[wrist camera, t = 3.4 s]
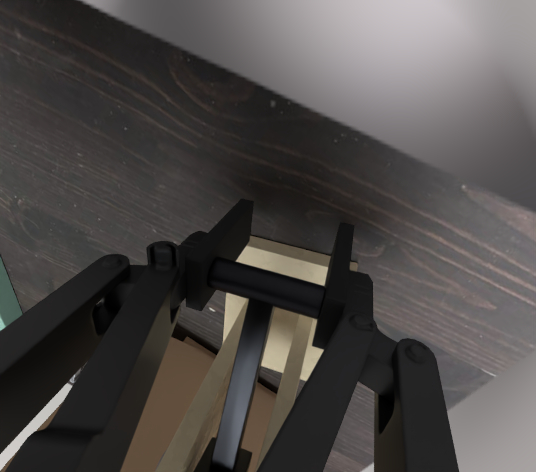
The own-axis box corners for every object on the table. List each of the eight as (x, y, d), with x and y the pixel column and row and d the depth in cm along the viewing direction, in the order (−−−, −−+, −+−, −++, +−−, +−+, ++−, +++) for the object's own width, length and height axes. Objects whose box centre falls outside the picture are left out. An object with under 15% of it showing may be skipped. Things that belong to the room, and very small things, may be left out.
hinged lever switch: (237, 231, 23) (84, 422, 11) (357, 262, 22) (340, 528, 9) (228, 340, 29) (124, 542, 17) (321, 371, 28) (282, 619, 15)
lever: (225, 253, 15) (206, 260, 13) (327, 281, 14) (326, 293, 12) (177, 474, 16) (151, 516, 14) (266, 512, 16) (255, 565, 13)
